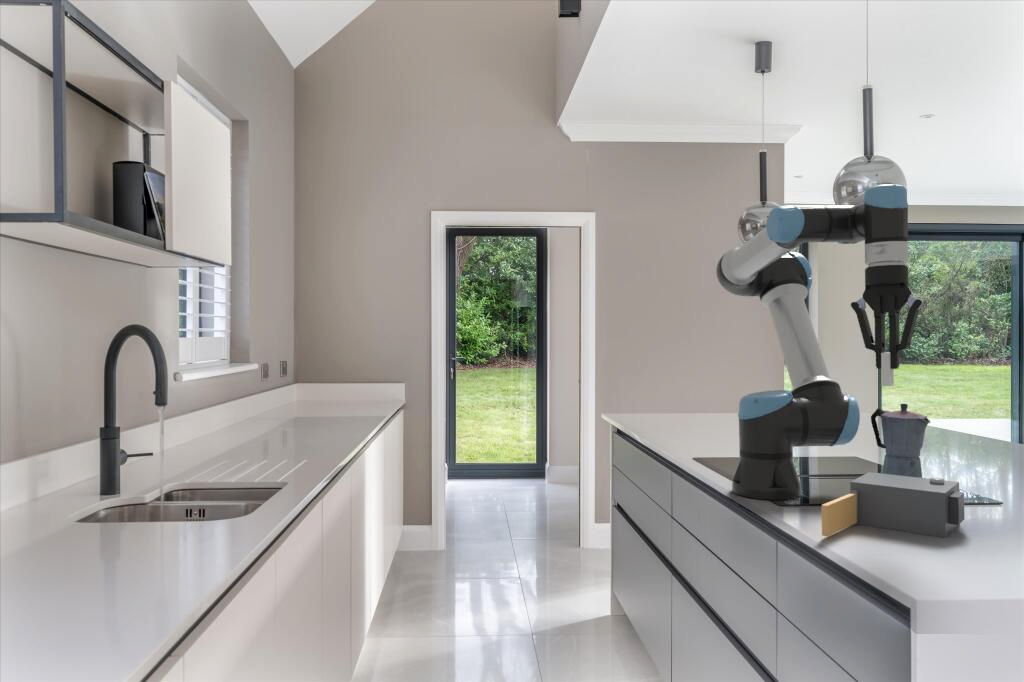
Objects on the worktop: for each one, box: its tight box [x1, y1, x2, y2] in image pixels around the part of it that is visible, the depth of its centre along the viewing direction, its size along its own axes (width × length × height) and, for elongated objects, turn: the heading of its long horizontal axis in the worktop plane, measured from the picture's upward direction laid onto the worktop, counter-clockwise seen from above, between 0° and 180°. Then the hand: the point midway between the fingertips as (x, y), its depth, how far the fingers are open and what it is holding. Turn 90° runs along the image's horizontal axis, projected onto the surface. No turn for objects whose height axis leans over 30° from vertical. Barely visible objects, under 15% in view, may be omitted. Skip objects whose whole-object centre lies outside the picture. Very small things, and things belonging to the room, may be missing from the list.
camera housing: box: [849, 471, 965, 539], centre depth 137 cm, size 18×12×9 cm
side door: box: [821, 490, 859, 537], centre depth 133 cm, size 14×1×6 cm, turn 133°
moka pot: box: [870, 403, 931, 478], centre depth 168 cm, size 10×15×20 cm, turn 28°
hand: (887, 385), depth 140 cm, fingers closed
